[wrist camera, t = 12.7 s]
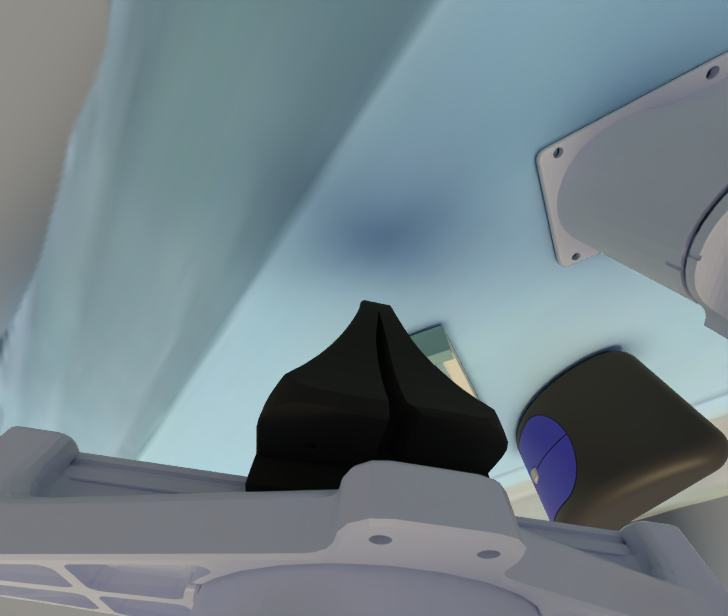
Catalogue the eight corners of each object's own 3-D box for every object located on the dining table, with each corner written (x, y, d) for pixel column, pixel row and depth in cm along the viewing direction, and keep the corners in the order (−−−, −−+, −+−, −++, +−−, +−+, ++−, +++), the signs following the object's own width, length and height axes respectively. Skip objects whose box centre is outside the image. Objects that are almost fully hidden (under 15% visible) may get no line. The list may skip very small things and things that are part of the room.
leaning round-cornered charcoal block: (577, 336, 23) (684, 444, 15) (628, 345, 23) (759, 456, 15) (492, 445, 32) (531, 551, 24) (530, 451, 32) (580, 557, 24)
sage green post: (441, 324, 22) (449, 348, 20) (445, 334, 23) (454, 359, 20) (338, 360, 25) (333, 386, 22) (344, 369, 26) (341, 395, 23)
